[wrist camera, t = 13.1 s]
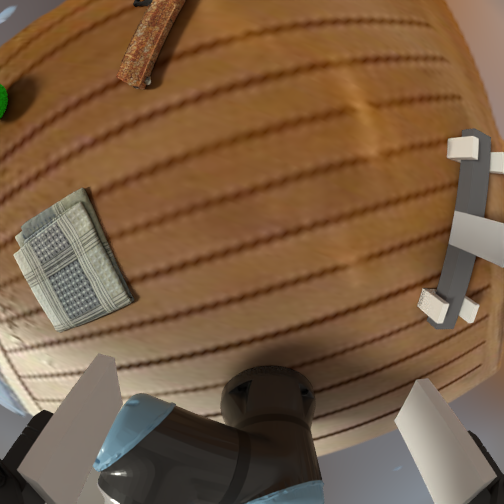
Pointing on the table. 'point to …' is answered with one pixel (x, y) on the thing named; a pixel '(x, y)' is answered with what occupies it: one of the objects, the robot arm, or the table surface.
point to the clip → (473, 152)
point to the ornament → (3, 100)
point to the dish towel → (71, 263)
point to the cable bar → (469, 232)
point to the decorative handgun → (148, 41)
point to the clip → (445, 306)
